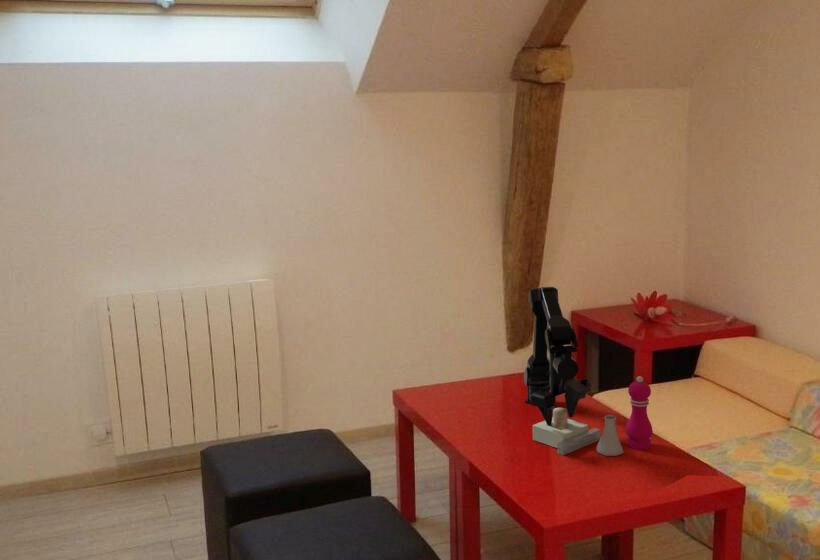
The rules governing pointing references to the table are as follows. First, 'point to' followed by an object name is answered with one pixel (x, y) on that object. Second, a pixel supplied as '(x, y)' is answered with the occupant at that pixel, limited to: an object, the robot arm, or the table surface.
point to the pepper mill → (639, 416)
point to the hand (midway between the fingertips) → (560, 421)
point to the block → (557, 432)
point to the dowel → (560, 418)
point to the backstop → (578, 441)
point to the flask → (609, 439)
